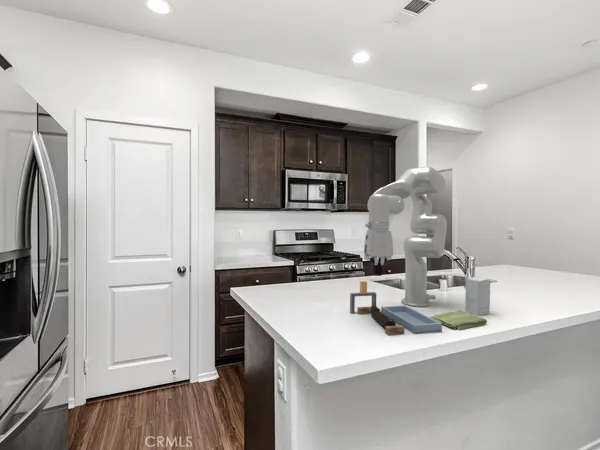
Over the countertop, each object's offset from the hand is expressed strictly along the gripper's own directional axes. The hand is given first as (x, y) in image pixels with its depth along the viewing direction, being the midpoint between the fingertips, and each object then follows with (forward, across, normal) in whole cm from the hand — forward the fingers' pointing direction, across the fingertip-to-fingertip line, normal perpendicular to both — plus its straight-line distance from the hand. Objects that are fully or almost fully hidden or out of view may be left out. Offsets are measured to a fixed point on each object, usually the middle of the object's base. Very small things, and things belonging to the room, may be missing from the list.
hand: (377, 275), depth 121 cm
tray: (+18, +13, -2) cm, 22 cm away
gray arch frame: (+18, +1, +14) cm, 23 cm away
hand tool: (+18, +1, 0) cm, 18 cm away
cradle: (+18, +1, 0) cm, 18 cm away
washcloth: (+18, +31, -6) cm, 37 cm away
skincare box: (+17, +48, +3) cm, 51 cm away
